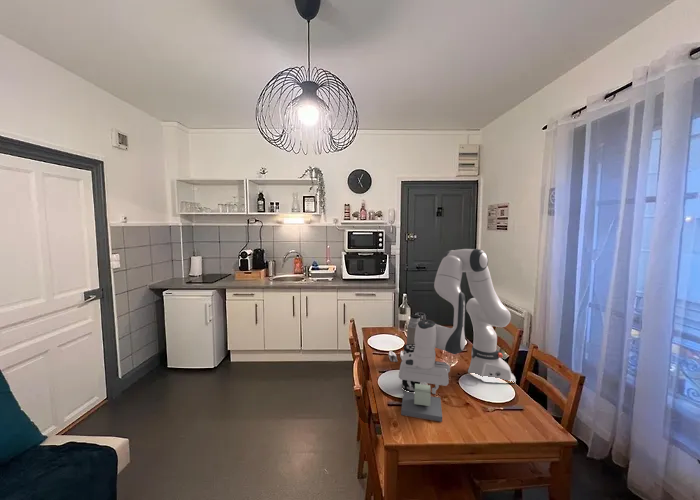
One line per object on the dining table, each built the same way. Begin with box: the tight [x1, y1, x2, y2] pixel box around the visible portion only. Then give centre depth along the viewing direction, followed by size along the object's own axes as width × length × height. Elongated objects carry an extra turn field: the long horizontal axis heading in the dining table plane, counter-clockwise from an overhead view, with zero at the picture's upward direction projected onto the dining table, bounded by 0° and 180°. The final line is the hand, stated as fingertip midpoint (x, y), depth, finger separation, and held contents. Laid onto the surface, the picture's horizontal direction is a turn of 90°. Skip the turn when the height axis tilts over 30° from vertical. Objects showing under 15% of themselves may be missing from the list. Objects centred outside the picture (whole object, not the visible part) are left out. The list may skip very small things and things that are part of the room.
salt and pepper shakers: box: [388, 350, 404, 363], centre depth 180 cm, size 12×4×11 cm
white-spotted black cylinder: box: [401, 343, 421, 393], centre depth 147 cm, size 8×8×20 cm
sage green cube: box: [413, 383, 432, 407], centre depth 132 cm, size 6×6×6 cm
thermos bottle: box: [406, 314, 421, 344], centre depth 171 cm, size 8×8×28 cm
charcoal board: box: [400, 391, 443, 423], centre depth 132 cm, size 16×14×2 cm
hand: (422, 391), depth 132 cm, fingers open, 8 cm apart
